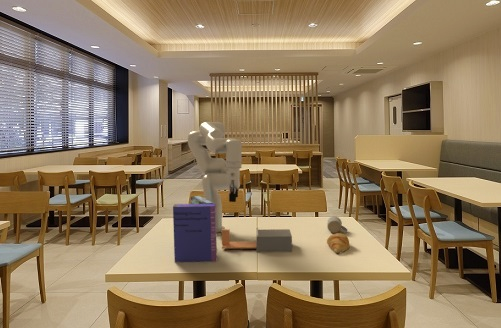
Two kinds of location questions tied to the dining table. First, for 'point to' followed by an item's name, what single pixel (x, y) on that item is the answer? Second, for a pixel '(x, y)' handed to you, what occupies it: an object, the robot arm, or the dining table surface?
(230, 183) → the robot arm
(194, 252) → the cereal box
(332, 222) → the ceramic mug
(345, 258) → the dining table surface
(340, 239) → the croissant
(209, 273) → the dining table surface
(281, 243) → the grey boxy piece
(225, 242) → the orange stepped block
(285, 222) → the dining table surface
